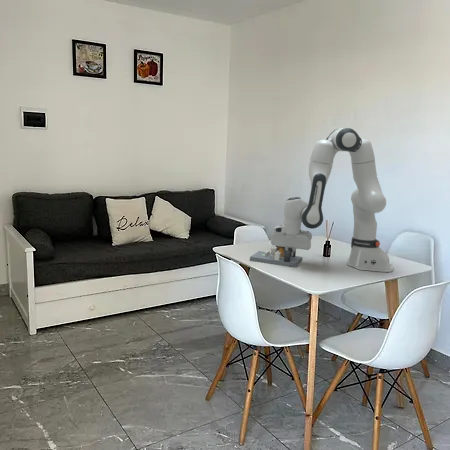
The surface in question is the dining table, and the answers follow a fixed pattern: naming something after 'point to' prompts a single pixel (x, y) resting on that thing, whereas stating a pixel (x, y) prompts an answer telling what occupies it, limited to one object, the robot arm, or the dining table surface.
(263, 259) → the panel
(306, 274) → the dining table surface
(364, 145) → the robot arm
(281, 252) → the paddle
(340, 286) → the dining table surface
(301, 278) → the dining table surface
